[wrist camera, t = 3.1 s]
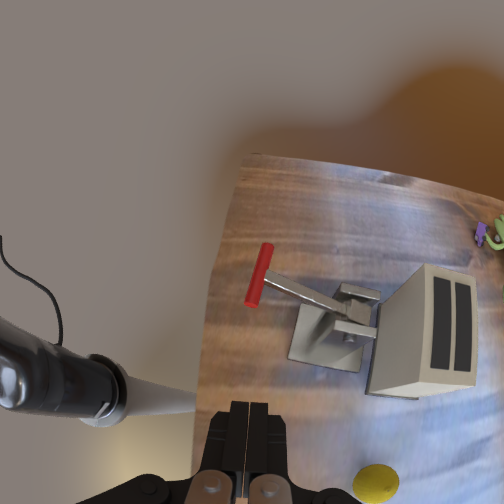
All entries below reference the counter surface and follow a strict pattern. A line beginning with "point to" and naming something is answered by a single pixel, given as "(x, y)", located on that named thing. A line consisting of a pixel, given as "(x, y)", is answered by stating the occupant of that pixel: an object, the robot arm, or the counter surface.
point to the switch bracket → (332, 333)
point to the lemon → (375, 483)
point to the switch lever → (301, 292)
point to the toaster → (426, 337)
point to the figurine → (481, 235)
